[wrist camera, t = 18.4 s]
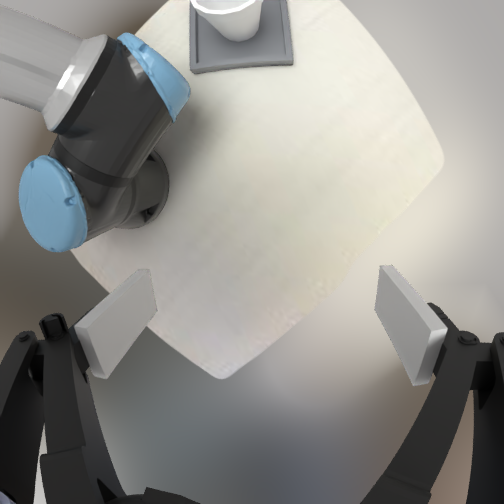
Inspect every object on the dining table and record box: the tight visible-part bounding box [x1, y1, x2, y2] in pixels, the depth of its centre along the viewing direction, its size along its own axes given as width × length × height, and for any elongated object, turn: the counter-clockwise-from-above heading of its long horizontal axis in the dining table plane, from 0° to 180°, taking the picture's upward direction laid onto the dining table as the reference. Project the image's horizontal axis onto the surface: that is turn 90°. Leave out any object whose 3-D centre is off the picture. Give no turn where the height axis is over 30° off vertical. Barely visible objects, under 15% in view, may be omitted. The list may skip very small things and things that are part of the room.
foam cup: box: [190, 0, 263, 42], centre depth 30 cm, size 10×9×13 cm
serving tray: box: [190, 0, 293, 74], centre depth 35 cm, size 16×16×2 cm
